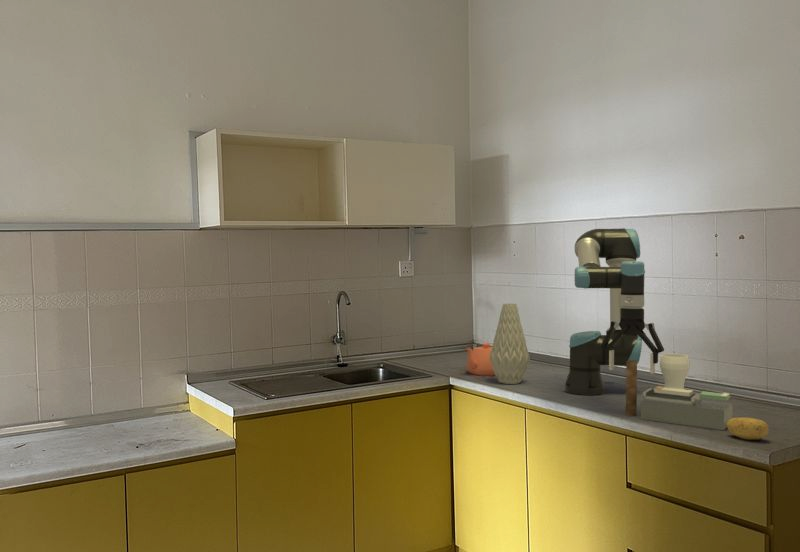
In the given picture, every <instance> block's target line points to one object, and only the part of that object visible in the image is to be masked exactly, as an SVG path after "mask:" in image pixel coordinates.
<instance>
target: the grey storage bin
mask: <svg viewBox="0 0 800 552" xmlns="http://www.w3.org/2000/svg"><path fill="white" fill-rule="evenodd" d="M654 388H655V387H654ZM654 388H653V387H650V388H648V389H646V390H644V391H642V400H640V420H643V421H649V422H650V421H652V422H656V423H657V422H659V423H665V424H671V425H672V424H673V425H680V426H689V427H696V428H702V429H704V428H705V429H710V430H717V431H718V430H719V431H725V430H726V429H728V428H727V423H728V421H729V420H730V419H732V418H733V403H732V402H726V401H724V402H722V401H717V400H708V399H707V400H705V399H702V398H699V394H700V393H701V392H693V394H692V395H691V396H681V395H672V394H663V393H654Z"/></svg>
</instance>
